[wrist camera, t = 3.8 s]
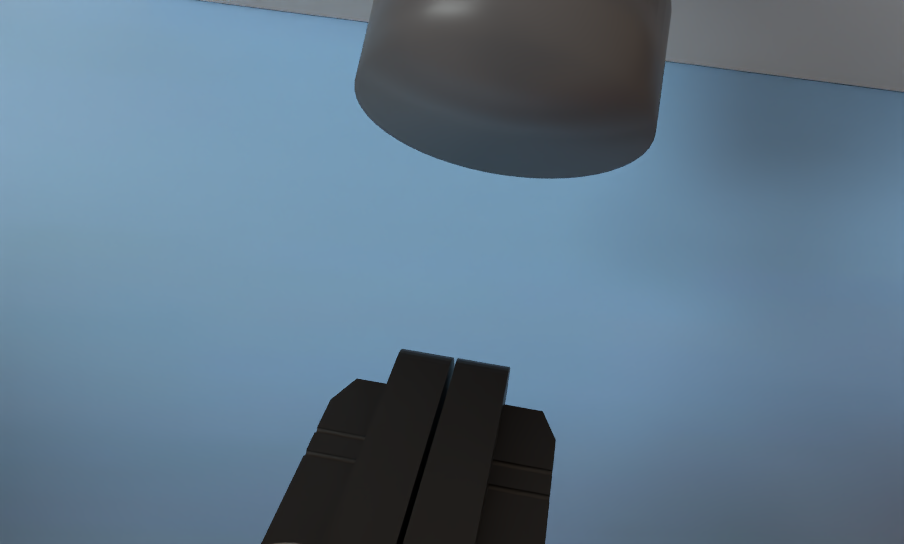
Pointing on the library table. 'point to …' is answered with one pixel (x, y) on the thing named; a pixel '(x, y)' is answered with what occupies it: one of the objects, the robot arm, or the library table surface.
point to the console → (747, 35)
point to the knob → (517, 81)
